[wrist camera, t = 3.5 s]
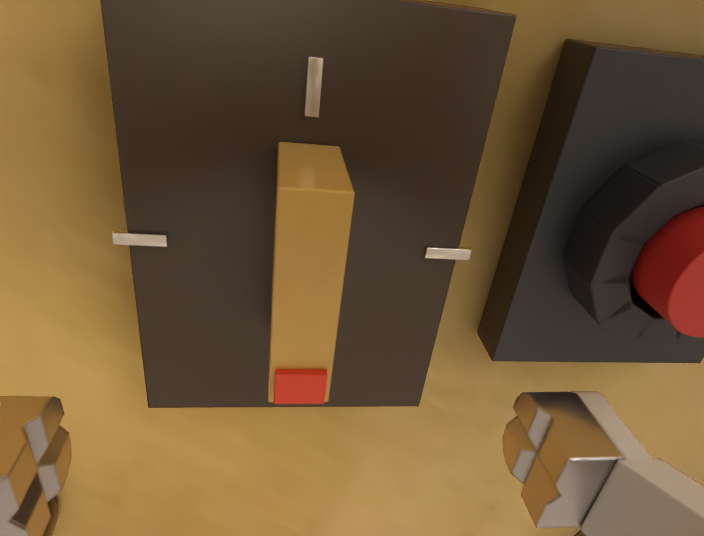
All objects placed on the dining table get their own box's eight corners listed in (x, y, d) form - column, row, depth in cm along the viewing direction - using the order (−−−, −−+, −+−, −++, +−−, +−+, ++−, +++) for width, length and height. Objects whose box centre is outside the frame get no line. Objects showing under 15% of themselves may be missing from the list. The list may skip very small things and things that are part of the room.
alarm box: (565, 38, 15) (636, 55, 12) (818, 70, 16) (938, 92, 13) (476, 333, 20) (510, 396, 17) (672, 337, 22) (735, 395, 19)
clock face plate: (111, -41, 13) (74, -42, 10) (493, 9, 14) (533, 17, 12) (153, 359, 19) (135, 411, 17) (413, 361, 21) (429, 409, 18)
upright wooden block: (278, 140, 13) (277, 191, 10) (339, 145, 13) (356, 196, 10) (269, 328, 16) (267, 410, 13) (320, 329, 16) (329, 409, 13)
